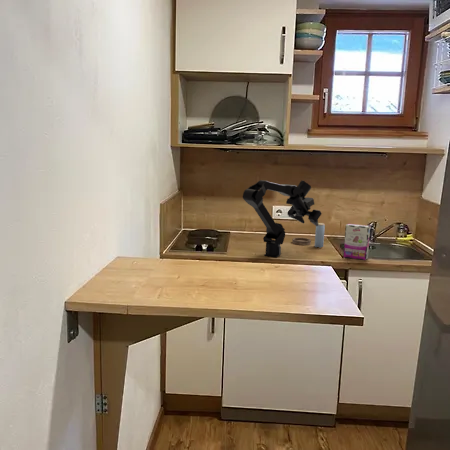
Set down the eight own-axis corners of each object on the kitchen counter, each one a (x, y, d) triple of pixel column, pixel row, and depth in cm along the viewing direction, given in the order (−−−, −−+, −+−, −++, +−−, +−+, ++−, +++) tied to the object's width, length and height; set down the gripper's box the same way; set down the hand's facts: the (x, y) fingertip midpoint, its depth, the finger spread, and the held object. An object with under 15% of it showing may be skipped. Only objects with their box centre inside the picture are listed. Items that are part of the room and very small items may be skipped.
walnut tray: (290, 243, 257) (290, 240, 256) (295, 240, 266) (295, 236, 265) (308, 245, 253) (308, 242, 252) (312, 242, 262) (312, 239, 261)
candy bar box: (368, 258, 230) (371, 225, 227) (365, 260, 225) (369, 227, 222) (345, 255, 235) (347, 223, 232) (342, 257, 231) (345, 224, 228)
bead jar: (313, 247, 251) (315, 223, 248) (315, 245, 255) (317, 222, 252) (322, 248, 249) (323, 224, 246) (324, 246, 253) (325, 223, 251)
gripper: (320, 194, 230) (332, 215, 239) (292, 190, 245) (305, 210, 253) (309, 211, 227) (321, 231, 236) (281, 205, 241) (294, 225, 250)
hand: (310, 224), depth 244 cm, fingers open, 9 cm apart
